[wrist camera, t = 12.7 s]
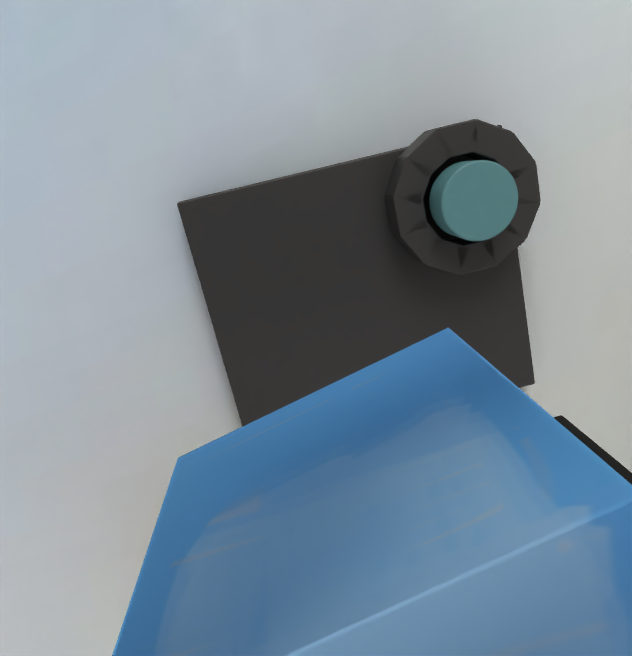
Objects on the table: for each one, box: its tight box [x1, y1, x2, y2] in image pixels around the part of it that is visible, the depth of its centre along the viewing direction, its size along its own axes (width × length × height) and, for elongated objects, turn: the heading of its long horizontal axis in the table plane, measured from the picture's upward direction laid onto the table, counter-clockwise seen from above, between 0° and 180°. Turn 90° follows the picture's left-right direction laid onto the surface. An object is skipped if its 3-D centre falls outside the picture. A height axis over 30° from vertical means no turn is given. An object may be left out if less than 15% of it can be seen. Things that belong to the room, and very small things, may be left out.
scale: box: [177, 119, 540, 426], centre depth 25 cm, size 12×14×3 cm
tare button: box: [429, 160, 518, 241], centre depth 22 cm, size 3×3×2 cm
